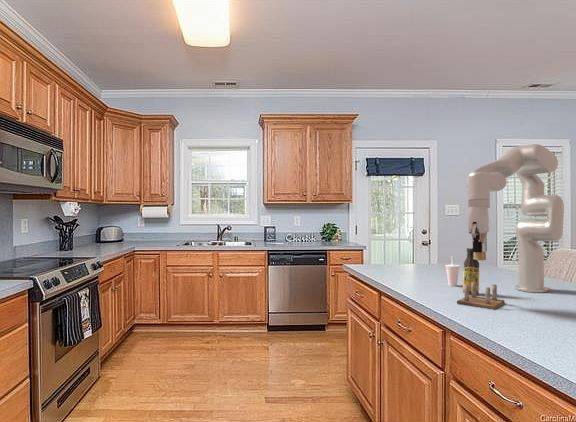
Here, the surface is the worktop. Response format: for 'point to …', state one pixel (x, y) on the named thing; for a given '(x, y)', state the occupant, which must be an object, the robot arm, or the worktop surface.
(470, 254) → the sauce bottle
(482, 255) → the sprinkles bottle
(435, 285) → the worktop surface
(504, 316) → the worktop surface
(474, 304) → the pin tray
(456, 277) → the smoothie
